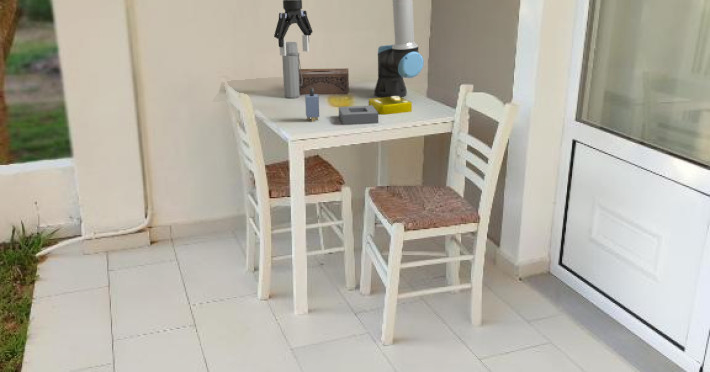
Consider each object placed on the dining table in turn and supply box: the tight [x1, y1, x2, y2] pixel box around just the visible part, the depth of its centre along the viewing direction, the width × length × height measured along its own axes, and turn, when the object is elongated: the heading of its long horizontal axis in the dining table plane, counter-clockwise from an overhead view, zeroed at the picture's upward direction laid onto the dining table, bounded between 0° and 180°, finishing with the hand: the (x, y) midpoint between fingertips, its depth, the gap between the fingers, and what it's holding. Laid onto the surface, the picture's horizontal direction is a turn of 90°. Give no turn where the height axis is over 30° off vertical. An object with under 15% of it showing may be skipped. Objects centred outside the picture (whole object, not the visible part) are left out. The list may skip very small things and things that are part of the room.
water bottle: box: [281, 41, 303, 99], centre depth 305 cm, size 9×8×25 cm
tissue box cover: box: [299, 67, 350, 96], centre depth 318 cm, size 26×14×10 cm, turn 88°
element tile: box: [368, 96, 413, 116], centre depth 281 cm, size 15×15×5 cm
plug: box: [304, 88, 320, 123], centre depth 263 cm, size 5×5×13 cm
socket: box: [338, 105, 379, 126], centre depth 264 cm, size 14×14×4 cm
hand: (294, 53), depth 268 cm, fingers open, 13 cm apart
